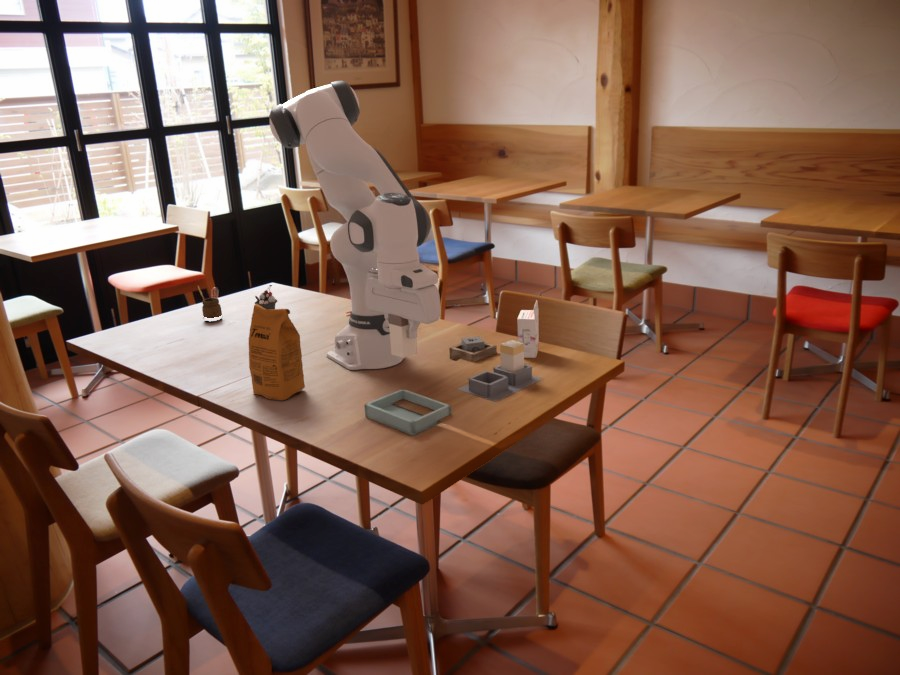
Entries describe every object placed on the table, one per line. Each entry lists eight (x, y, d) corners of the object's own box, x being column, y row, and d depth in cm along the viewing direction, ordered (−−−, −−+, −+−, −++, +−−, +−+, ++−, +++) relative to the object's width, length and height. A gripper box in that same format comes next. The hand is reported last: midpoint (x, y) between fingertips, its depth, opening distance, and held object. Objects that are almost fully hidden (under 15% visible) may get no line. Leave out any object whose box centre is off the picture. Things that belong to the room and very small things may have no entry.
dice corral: (449, 358, 201) (449, 347, 200) (472, 349, 207) (471, 339, 206) (474, 365, 195) (474, 354, 194) (496, 356, 201) (496, 345, 200)
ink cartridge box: (521, 350, 205) (520, 298, 200) (539, 350, 204) (538, 299, 199) (517, 360, 197) (516, 307, 192) (536, 361, 196) (535, 307, 191)
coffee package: (276, 381, 190) (266, 298, 183) (311, 390, 183) (302, 304, 176) (246, 394, 182) (234, 308, 175) (281, 404, 175) (270, 315, 168)
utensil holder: (222, 321, 244) (217, 286, 240) (202, 323, 242) (196, 288, 239) (223, 316, 249) (218, 282, 245) (203, 318, 248) (198, 283, 244)
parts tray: (365, 416, 167) (364, 404, 166) (403, 400, 174) (402, 388, 173) (412, 435, 156) (412, 422, 155) (451, 417, 164) (450, 405, 163)
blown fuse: (391, 354, 161) (388, 314, 158) (404, 349, 163) (402, 310, 161) (403, 358, 158) (401, 317, 155) (417, 353, 161) (415, 313, 158)
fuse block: (457, 393, 177) (456, 377, 176) (505, 371, 189) (505, 356, 188) (495, 405, 169) (495, 389, 168) (543, 382, 181) (543, 367, 180)
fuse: (500, 379, 182) (500, 344, 179) (511, 374, 185) (511, 340, 182) (513, 382, 179) (513, 347, 177) (524, 377, 182) (524, 343, 179)
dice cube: (462, 355, 203) (461, 338, 201) (479, 353, 204) (479, 336, 202) (466, 361, 198) (466, 343, 196) (484, 359, 199) (484, 341, 198)
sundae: (285, 331, 231) (280, 284, 226) (270, 337, 225) (264, 289, 221) (270, 328, 234) (264, 282, 229) (254, 334, 229) (248, 287, 224)
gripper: (355, 269, 160) (360, 330, 164) (421, 282, 146) (425, 348, 150) (378, 263, 164) (382, 323, 168) (443, 276, 150) (447, 340, 155)
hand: (403, 335), depth 159 cm, fingers closed on blown fuse, 4 cm apart
